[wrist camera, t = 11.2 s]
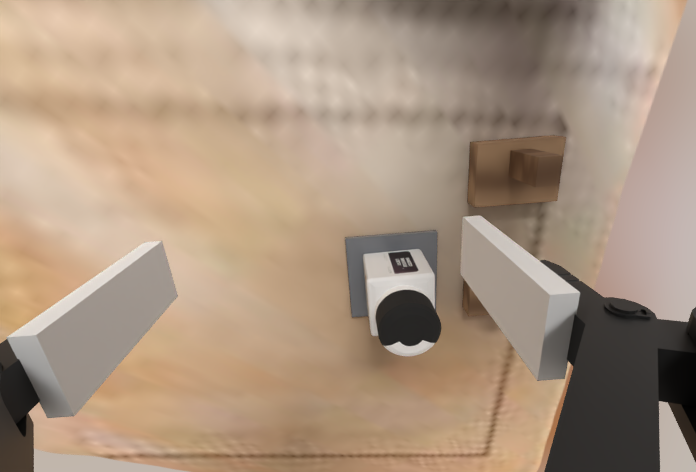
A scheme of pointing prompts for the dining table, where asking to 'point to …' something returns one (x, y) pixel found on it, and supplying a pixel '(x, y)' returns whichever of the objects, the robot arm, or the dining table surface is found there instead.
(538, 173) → the pair of wooden stands
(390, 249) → the plate
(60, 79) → the dining table surface
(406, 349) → the container
